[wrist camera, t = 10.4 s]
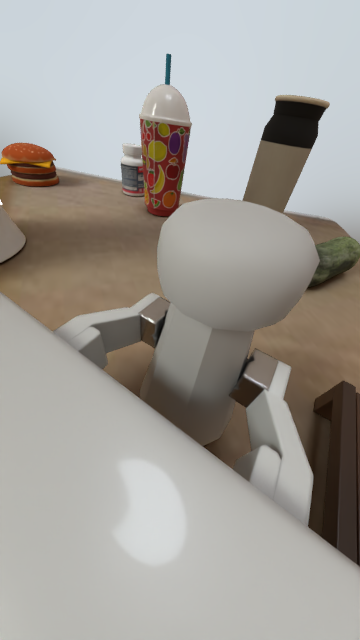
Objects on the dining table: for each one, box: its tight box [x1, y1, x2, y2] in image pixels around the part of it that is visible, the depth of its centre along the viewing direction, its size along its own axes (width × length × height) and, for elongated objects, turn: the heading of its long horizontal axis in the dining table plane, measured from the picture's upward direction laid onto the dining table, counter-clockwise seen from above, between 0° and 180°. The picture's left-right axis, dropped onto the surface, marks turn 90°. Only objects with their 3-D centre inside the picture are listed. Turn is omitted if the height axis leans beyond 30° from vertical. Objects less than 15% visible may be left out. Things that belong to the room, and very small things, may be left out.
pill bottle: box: [121, 143, 145, 196], centre depth 45 cm, size 5×5×9 cm
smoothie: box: [139, 54, 192, 216], centre depth 34 cm, size 8×8×20 cm
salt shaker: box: [140, 198, 320, 446], centre depth 10 cm, size 6×6×13 cm
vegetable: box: [308, 237, 360, 287], centre depth 28 cm, size 14×5×5 cm, turn 124°
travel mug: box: [243, 95, 330, 214], centre depth 35 cm, size 8×8×18 cm
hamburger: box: [0, 143, 59, 186], centre depth 43 cm, size 9×10×7 cm
